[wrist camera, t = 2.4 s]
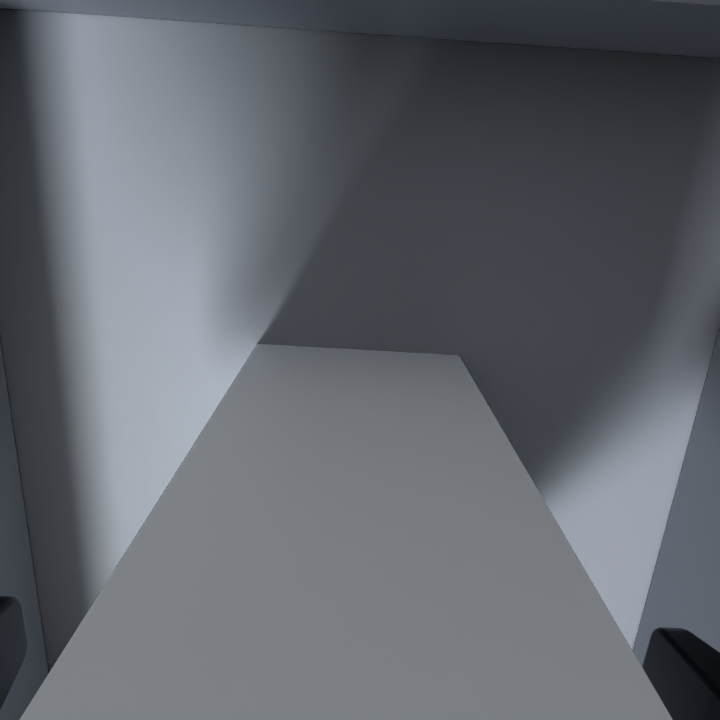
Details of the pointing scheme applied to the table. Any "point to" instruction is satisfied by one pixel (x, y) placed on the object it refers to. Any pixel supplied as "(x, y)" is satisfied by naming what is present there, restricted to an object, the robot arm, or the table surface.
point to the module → (349, 567)
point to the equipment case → (471, 23)
